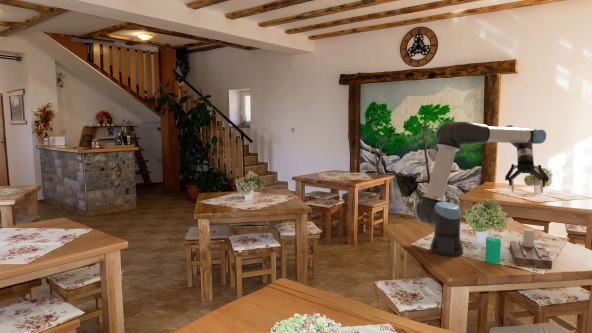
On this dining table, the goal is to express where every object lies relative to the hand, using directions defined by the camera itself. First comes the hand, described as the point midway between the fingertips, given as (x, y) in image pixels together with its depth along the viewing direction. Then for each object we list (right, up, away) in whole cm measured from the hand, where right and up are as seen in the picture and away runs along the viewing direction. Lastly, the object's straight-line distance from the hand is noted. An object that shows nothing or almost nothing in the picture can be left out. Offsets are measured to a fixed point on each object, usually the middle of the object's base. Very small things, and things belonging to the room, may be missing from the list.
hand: (527, 191), depth 209 cm
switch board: (-8, -29, -16) cm, 35 cm away
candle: (-29, -31, -23) cm, 48 cm away
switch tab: (-6, -26, -11) cm, 29 cm away
